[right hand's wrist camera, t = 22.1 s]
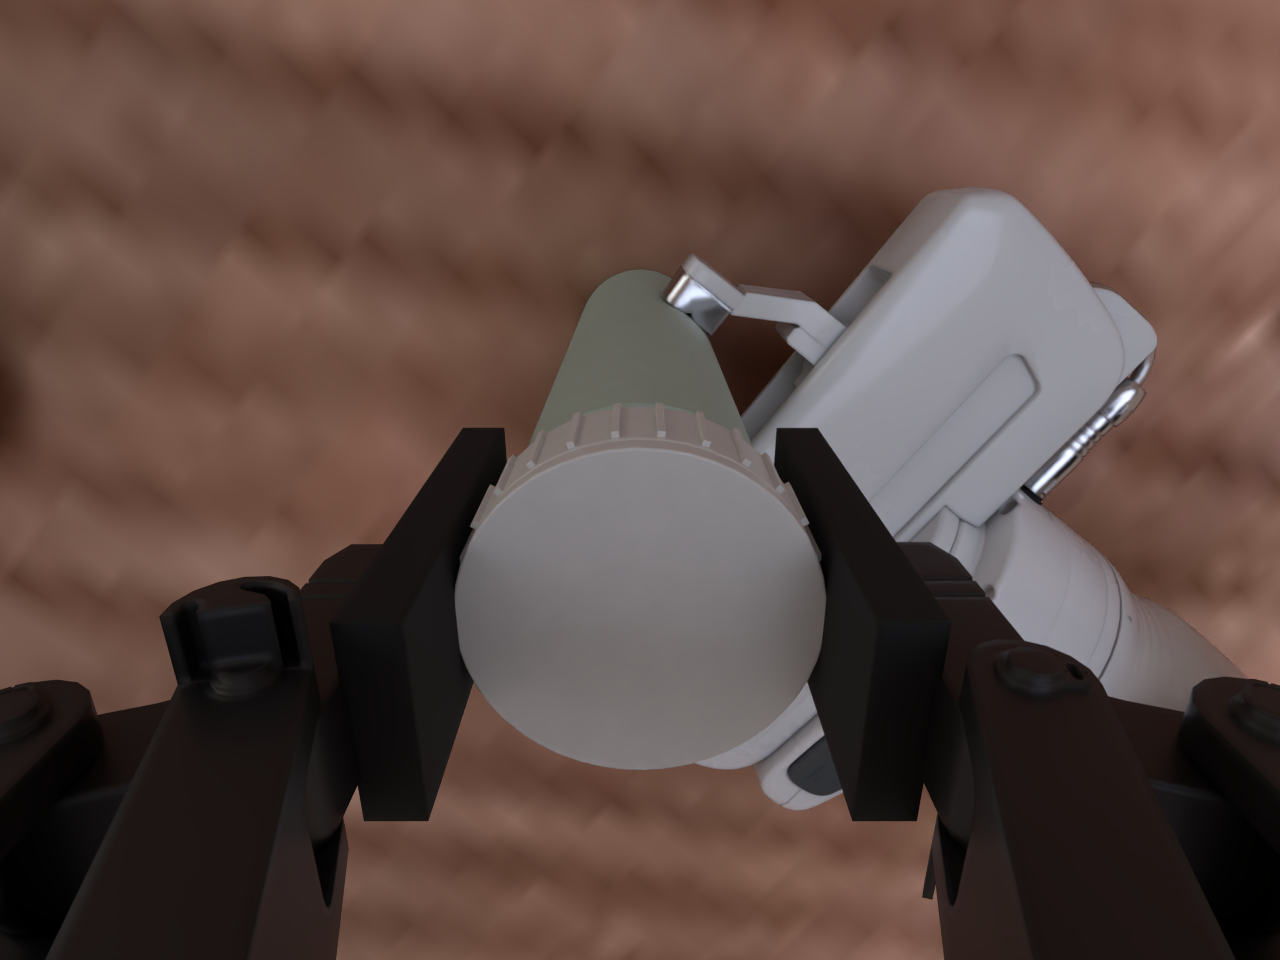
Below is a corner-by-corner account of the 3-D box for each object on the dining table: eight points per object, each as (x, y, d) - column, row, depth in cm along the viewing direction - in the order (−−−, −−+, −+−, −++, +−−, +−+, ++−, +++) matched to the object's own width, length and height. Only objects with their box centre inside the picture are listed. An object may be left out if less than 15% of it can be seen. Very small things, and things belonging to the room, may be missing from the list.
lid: (563, 734, 13) (553, 818, 12) (412, 481, 12) (372, 535, 10) (849, 631, 13) (882, 705, 11) (733, 342, 11) (751, 376, 9)
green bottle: (566, 368, 30) (456, 664, 12) (600, 252, 28) (530, 394, 10) (677, 402, 30) (731, 736, 12) (716, 291, 29) (843, 489, 11)
